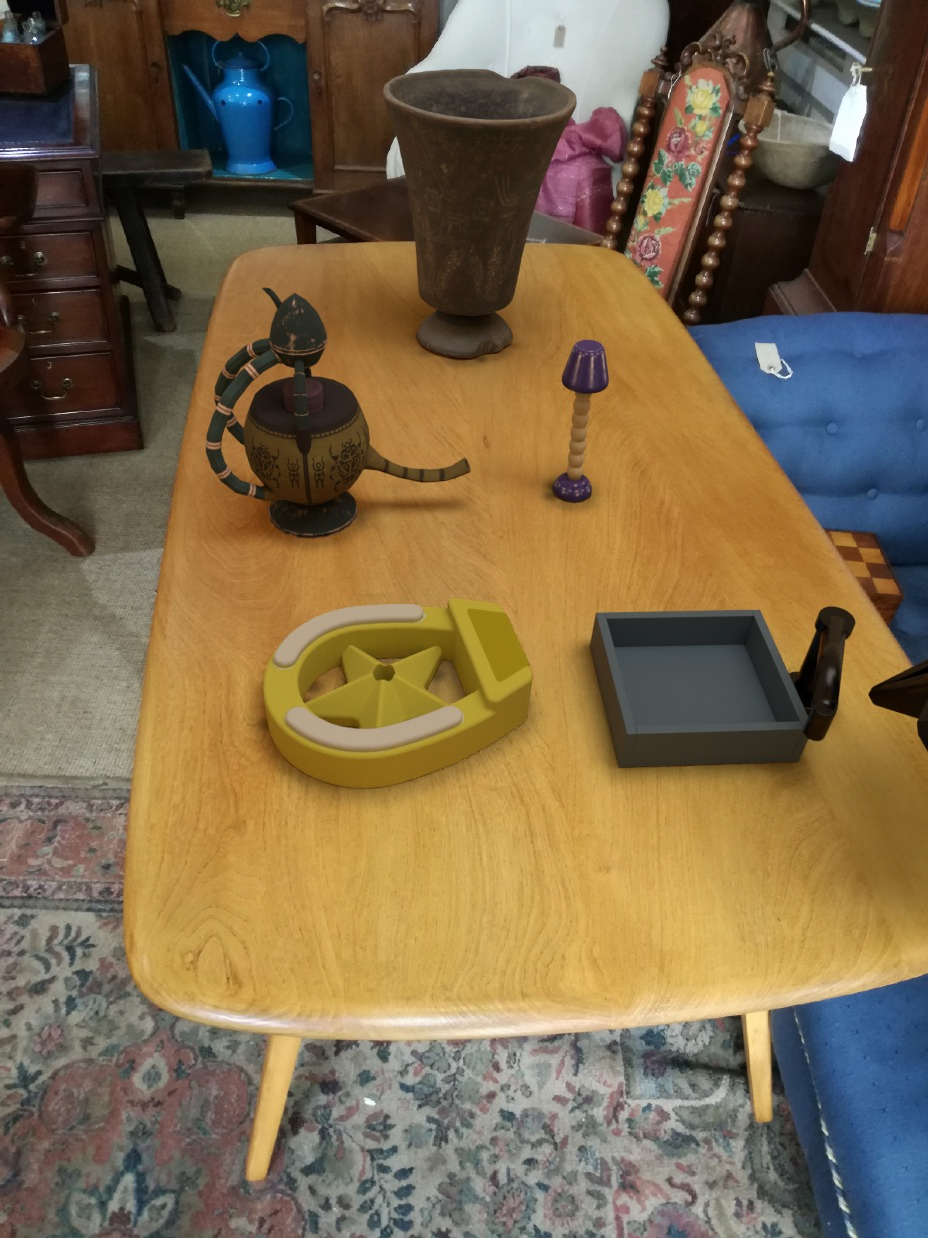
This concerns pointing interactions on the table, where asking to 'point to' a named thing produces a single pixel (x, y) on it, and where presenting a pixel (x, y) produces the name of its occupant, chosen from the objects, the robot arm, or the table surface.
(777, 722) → the sink
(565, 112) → the vase
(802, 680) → the tap column
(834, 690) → the spout
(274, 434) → the teapot
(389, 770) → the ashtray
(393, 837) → the table surface
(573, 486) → the toy lamp
